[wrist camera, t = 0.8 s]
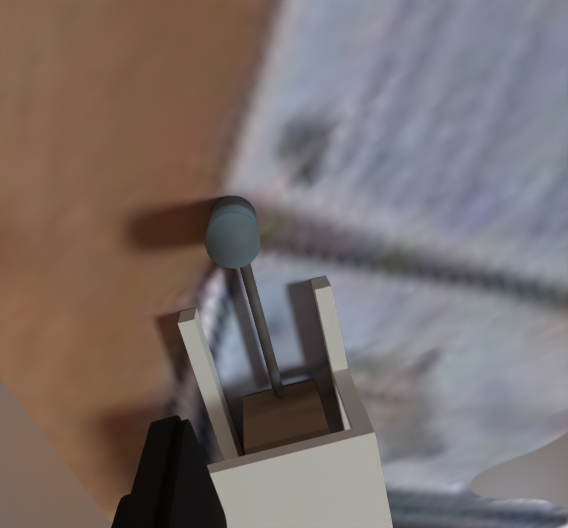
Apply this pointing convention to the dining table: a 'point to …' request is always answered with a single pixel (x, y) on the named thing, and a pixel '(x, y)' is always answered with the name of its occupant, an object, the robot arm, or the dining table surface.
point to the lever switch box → (296, 449)
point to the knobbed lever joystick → (262, 340)
